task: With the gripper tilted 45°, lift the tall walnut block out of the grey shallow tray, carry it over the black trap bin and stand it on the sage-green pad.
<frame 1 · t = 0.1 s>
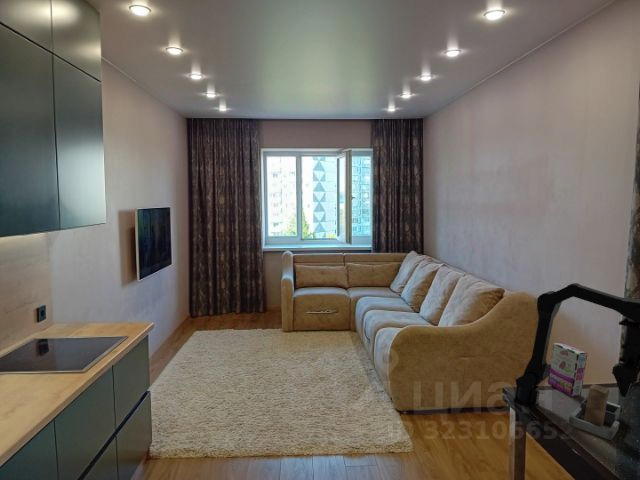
hand: (626, 391, 141), 15 cm above the table, tool pointing down, fingers open, 9 cm apart
candy bar box: (563, 390, 174), on the table
walnut block: (592, 427, 148), on the table
grey shallow tray: (592, 426, 148), on the table
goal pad: (602, 407, 162), on the table
trap bin: (598, 416, 155), on the table
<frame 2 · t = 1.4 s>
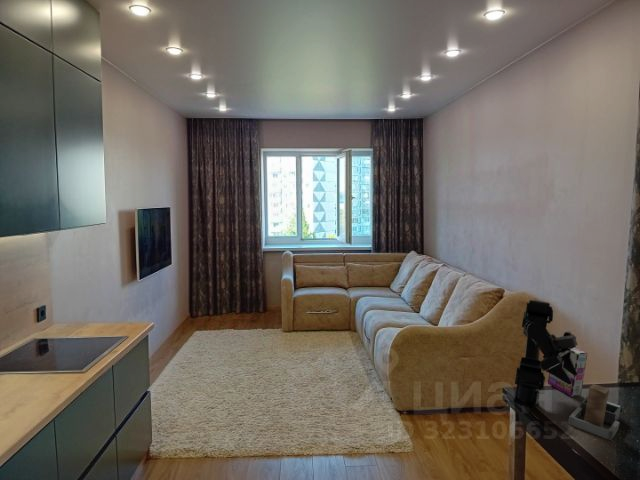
hand: (573, 379, 151), 13 cm above the table, tool tilted 45°, fingers open, 9 cm apart
nothing on the table moved.
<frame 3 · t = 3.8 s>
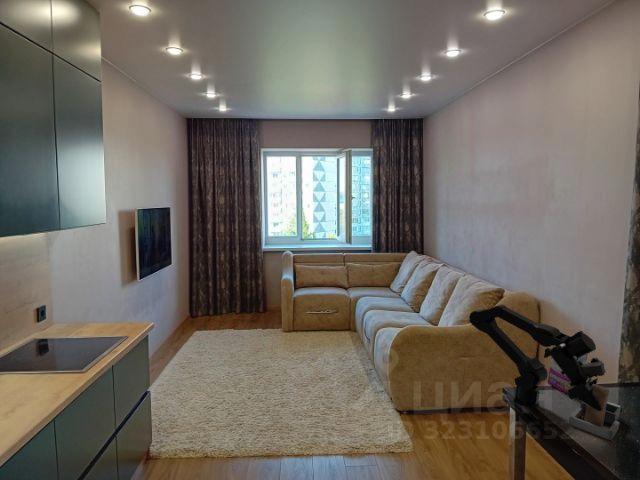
hand: (601, 407, 146), 7 cm above the table, tool tilted 45°, fingers closed on walnut block, 5 cm apart
walnut block: (593, 426, 148), on the table, touching gripper
everything else where it was.
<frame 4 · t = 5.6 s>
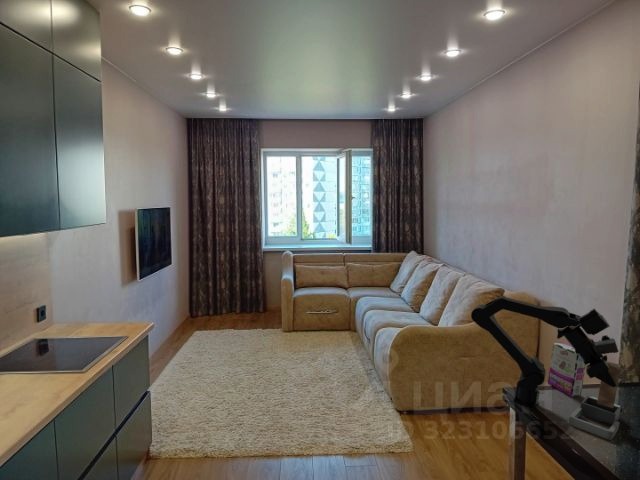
hand: (614, 383, 149), 14 cm above the table, tool tilted 45°, fingers closed on walnut block, 5 cm apart
walnut block: (605, 403, 151), point 7 cm above the table, touching gripper
everything else where it was.
when the fingers open (9 cm above the table, at t = 7.5 s): walnut block drops 2 cm, resting on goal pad.
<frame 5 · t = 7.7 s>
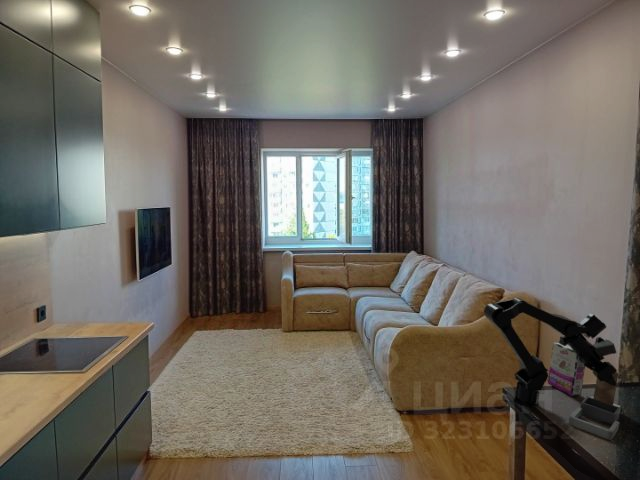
hand: (611, 381, 161), 10 cm above the table, tool tilted 45°, fingers open, 6 cm apart
candy bar box: (563, 389, 174), on the table, touching gripper
walnut block: (602, 404, 162), point 1 cm above the table, touching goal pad
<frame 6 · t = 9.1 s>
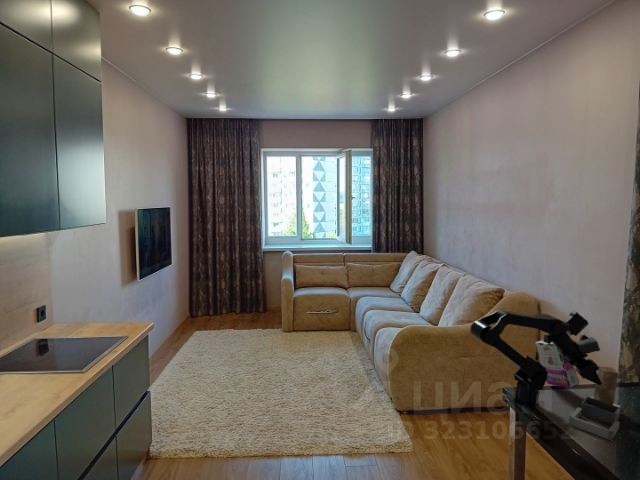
hand: (595, 378, 161), 10 cm above the table, tool tilted 45°, fingers open, 8 cm apart
candy bar box: (563, 384, 174), point 2 cm above the table
everything else where it was.
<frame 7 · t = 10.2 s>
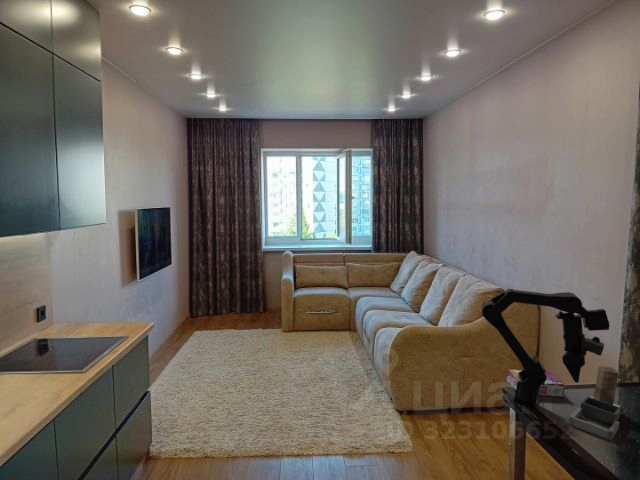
hand: (577, 378, 155), 12 cm above the table, tool pointing down, fingers open, 9 cm apart
candy bar box: (557, 383, 173), point 3 cm above the table
everything else where it was.
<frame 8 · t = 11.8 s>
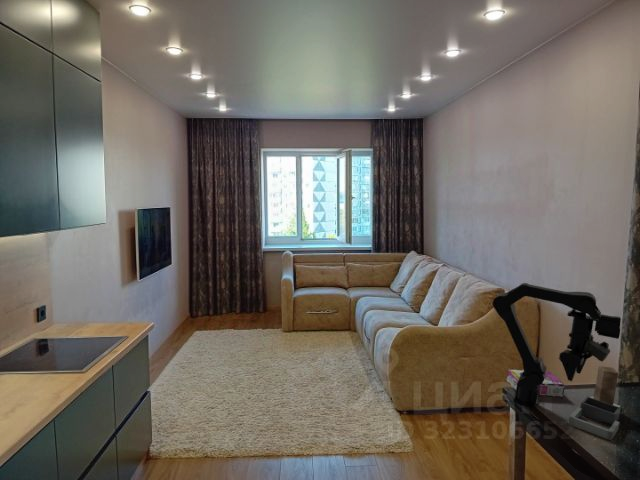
hand: (574, 376, 154), 13 cm above the table, tool pointing down, fingers open, 9 cm apart
nothing on the table moved.
at the end: walnut block inside the target area (0.0 cm from its centre), point 0.8 cm above the table; walnut block tilted 0°; walnut block touching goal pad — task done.
